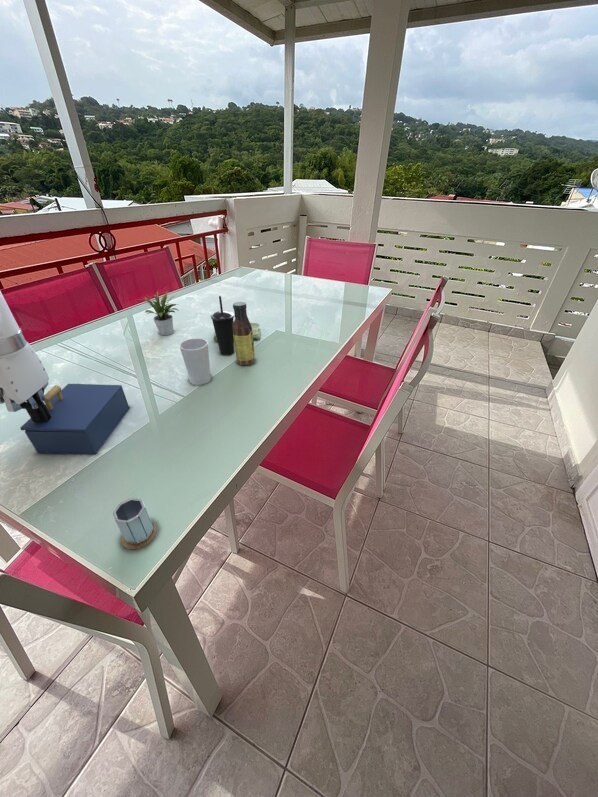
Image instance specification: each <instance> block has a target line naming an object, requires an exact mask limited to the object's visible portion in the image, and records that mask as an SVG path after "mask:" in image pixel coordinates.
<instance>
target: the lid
mask: <svg viewBox="0 0 598 797" xmlns="http://www.w3.org/2000/svg"><path fill="white" fill-rule="evenodd" d="M121 388H123V385H122V384H97V383H96V384H95V383H93V384H91V383H67V384H66V385H65V386H64V387H63V388H62V387H61V386H60V385H54V386H52V388H50V389H49V390H48V391H47V392H46V393H44V397H45V402H44V403H45V405H46V407H47V409H48V411H49V413H50V415H51V418H50V419H48V421H47V422H33V421H32V419H31V417H29V419H27V421H26V422H25V423H24V424H22V425H21V426H20V428H19V429H20V430H21V431H26V430H32V431H70V432H86V430H87V429H88V428H89V427H90V426H91V424H92V423H93V422H94V421H95V419H96V418H97V417H98V416H99V415H100V413H101V412H102V411H103V410H104V409H105V407H106V406H107V405H108V404H109V403H110V401H111V400H112V399H113V398H114V397H115V395H116V394H117V393H118V392H119V391H120V389H121Z"/></svg>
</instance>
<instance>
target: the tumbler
mask: <svg viewBox="0 0 598 797" xmlns="http://www.w3.org/2000/svg"><path fill="white" fill-rule="evenodd" d="M112 515H113V518H114V521H115V523H116V526H117V527H118V530H119V531H120V533H121V536H122V535H123V537H124V539H125V541H126V542H127V543H129V544H131V545H138V544H141V543H143V542H145V541H146V540H148V539H149V538H150V536H151V535H152V533H153V525H152V523H151V521H152V520H151V517H150V515H149V513H148V511H147V509H146V506H145V503H144V502H143V500H142V499H141V498H135V497H131V498H128V499H126V500H124V501H121V502H120V503H118V505H117V506H116V508H115V509H114V510H113V513H112Z"/></svg>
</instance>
